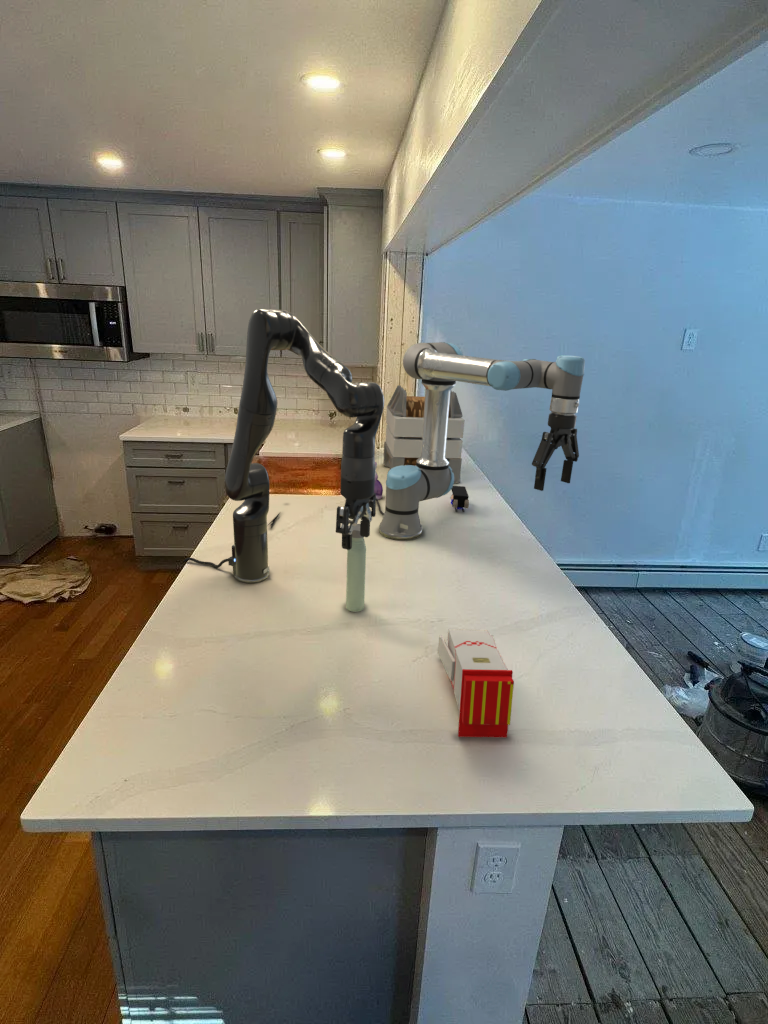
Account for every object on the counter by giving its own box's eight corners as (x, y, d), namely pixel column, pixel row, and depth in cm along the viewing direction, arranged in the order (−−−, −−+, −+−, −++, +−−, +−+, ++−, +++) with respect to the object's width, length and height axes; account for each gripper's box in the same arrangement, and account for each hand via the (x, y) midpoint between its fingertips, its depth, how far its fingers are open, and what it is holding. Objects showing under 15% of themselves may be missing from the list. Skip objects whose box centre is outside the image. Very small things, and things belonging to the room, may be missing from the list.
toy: (488, 613, 130) (523, 677, 101) (484, 667, 133) (517, 744, 104) (435, 612, 130) (455, 676, 101) (432, 666, 133) (451, 743, 103)
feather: (287, 506, 225) (290, 502, 224) (270, 530, 198) (272, 526, 198) (283, 504, 225) (286, 500, 224) (265, 527, 198) (268, 523, 197)
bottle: (344, 603, 151) (346, 525, 144) (361, 602, 153) (364, 524, 145) (348, 612, 147) (350, 532, 139) (365, 610, 148) (368, 531, 141)
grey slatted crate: (382, 463, 289) (386, 382, 275) (445, 464, 293) (451, 384, 279) (390, 482, 257) (394, 392, 243) (460, 483, 261) (468, 394, 247)
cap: (346, 531, 144) (346, 524, 144) (363, 530, 146) (364, 523, 145) (350, 538, 140) (350, 530, 139) (368, 537, 141) (368, 529, 141)
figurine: (367, 502, 230) (368, 467, 225) (357, 495, 238) (358, 460, 233) (388, 500, 234) (389, 465, 229) (377, 492, 242) (378, 458, 237)
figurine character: (469, 517, 223) (463, 501, 236) (471, 500, 219) (465, 484, 233) (452, 516, 222) (447, 500, 236) (454, 499, 219) (449, 483, 232)
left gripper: (358, 465, 132) (356, 529, 138) (326, 479, 120) (325, 549, 126) (387, 470, 129) (384, 535, 135) (357, 485, 117) (355, 557, 123)
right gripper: (548, 419, 148) (537, 496, 155) (598, 411, 163) (586, 482, 171) (525, 414, 153) (515, 489, 160) (575, 407, 169) (564, 476, 176)
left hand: (355, 542), depth 130 cm, fingers open, 8 cm apart
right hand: (552, 485), depth 166 cm, fingers open, 13 cm apart
